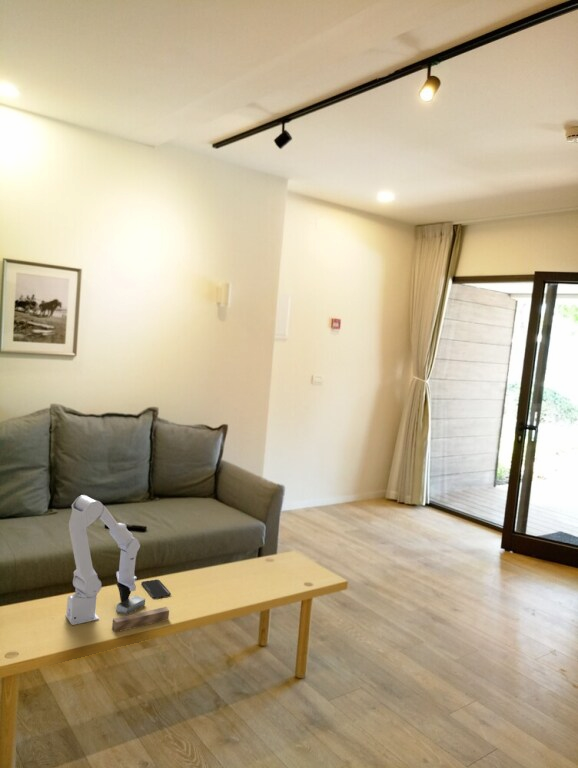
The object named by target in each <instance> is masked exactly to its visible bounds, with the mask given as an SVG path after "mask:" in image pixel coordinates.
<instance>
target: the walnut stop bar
mask: <svg viewBox="0 0 578 768" xmlns="http://www.w3.org/2000/svg"><path fill="white" fill-rule="evenodd" d="M169 617H170V609H169V608H167V607H166V606H163V607H159V608H155V609H150V610H146V611H141V612H137V613H130V614H128V615H122V616H118V617H114V618H112V624H111V625H112V626H111V629H112V630H113V631H114V633H118V632H121V631H120V630H122V631H125V629H126V630H130V629H129V628H131V629H134V627H135V628H139V627H143V626H147V625H151V623H152V624H155V623H160V622H164V621H167V620H169ZM163 620H164V621H163ZM117 631H118V632H117Z"/></svg>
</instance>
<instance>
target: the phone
mask: <svg viewBox="0 0 578 768" xmlns="http://www.w3.org/2000/svg"><path fill="white" fill-rule="evenodd" d="M140 585H141V586H142V587H143V589H144V588H145V589H144V590H145V592H146V593H147V594H148V595H149V596H150V598H151V599H154V600H156V598H157V599H162V598H161V597H163V598H168V597H167V596H169V597H170V595H171V592H170V591H169V589H168V588H167V587H166V585H164V583H162V582H161V580H159V579H151V580H145V581H144V580H143V581H141V584H140Z"/></svg>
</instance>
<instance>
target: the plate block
mask: <svg viewBox="0 0 578 768" xmlns="http://www.w3.org/2000/svg"><path fill="white" fill-rule="evenodd" d="M144 605H145V606H146V598H144V597H142V596H139V595H136V594H135V595H133V596H131V597H129V598H128V599H127V600H125V601H123V602H121V601H120V602H119V603H117V604H116V609H115V611H117V612H116V613H119V612H120V613H119V614H122V615H123V616H127V615H131V614H133V613H134V612H135V610H136V611H137V610H139V609H141V608H143V607H144Z"/></svg>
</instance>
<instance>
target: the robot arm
mask: <svg viewBox="0 0 578 768" xmlns="http://www.w3.org/2000/svg"><path fill="white" fill-rule="evenodd" d="M97 519H99V520H100V521H101V522H102V523H104V525H106V527H108V529H109V532H108V533H109V535H110V537H112V539H113V540H114V541H115V542H116V543H117V548H119V549H120V555H119V557H120V558H119V566H118V571H116V572H115V574H116V577H115V578H117V583H116V586H117V589H118V593H119V600H120V603H121V602H123V601H125V600H127V599H129V598H130V595H131V593H132V592H135V591H136V590H137V584H136V582H135V581H136V580H137V578H138V577H137V576H136V575H135V568H136V559H137V555H138V552H139V549H140V548H141V544H140V541H139V540H138V539H137V538H136V537H134V536H133V535H134V534H133V533H132V532H131V531H129V530H128V528H127V526H128V525H126V524H125V523H123V522H117V521H116V519H115V517H113V514H111V512H110V511H109V510H108V508H107V507H106V506H105V505H104V504H103V503H102V502H101V501H99V500H96V499H94V498H91V497H89V495H86V494H81V495H80V496H78V497H77V498H75V500H74V501H73V503H72V504H71V514H70V518H69V520H68V521H69V522H68V530H69V535H70V541H71V542H70V543H71V547H72V553H73V557H74V563H75V570H74V571H73V579H72V585H73V587H74V588H75V593H74V594H71V595H69V596H68V597H67V602H66V612H65V613H66V614H65V617H66V618H67V620H68V621H69V623H70V624H71V625H72V626H74V625H79V624H84V623H88V622H92V621H97V620H99V619H100V618H99V616H98V615H97V613H96V610H97V609H96V606H97V596H98V594H99V593H100V591H101V589H102V581H101V580H100V579H99V577H98V573H97V572H96V571H95V568H94V566H93V561H92V557H91V556H92V555H91V551H90V550H91V549H90V543H89V538H88V533H87V527H89V526H90V525H92V523H94V522H95V521H96V520H97Z"/></svg>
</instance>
